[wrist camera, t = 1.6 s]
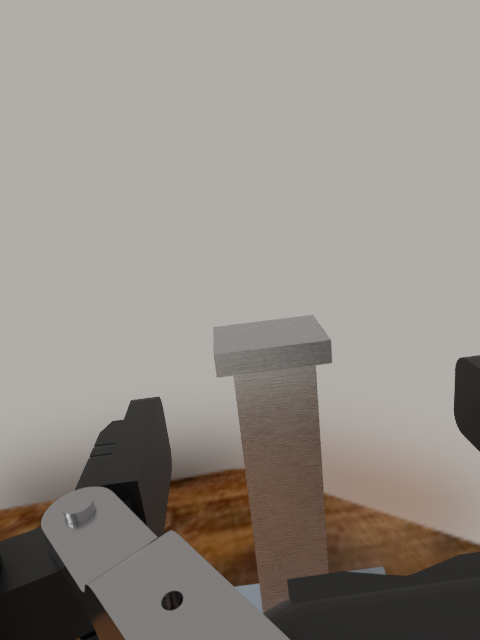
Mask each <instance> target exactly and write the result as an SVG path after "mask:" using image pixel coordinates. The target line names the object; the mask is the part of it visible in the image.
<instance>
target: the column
mask: <svg viewBox="0 0 480 640" xmlns="http://www.w3.org/2000/svg"><path fill="white" fill-rule="evenodd" d="M213 329H214V330H213V332H214V333H213V334H214V360H215V366H216V374H217V377H224V376H232V375H234V383H235V391H236V400H237V408H238V416H239V424H240V432H241V440H242V448H243V456H244V463H245V472H246V480H247V488H248V496H249V504H250V512H251V520H252V528H253V536H254V544H255V552H256V560H257V568H258V577H259V585H260V593H261V601H262V609H263V613H264V612H266V611H267V610H269V609H271V608H272V607H274V606H276V605H278V604H280V603H282V602H284V601H286V600H289V594H288V585H287V579H293V578H300V577H307V576H314V575H321V574H328V557H327V540H326V524H325V508H324V492H323V475H322V459H321V443H320V426H319V410H318V395H317V378H316V365H320V364H328V363H332V352H331V339H330V338H329V337H328V335H327V334H326V332H325V331H324V330H323V328H322V327H321V326H320V324H319V323H318V321H317V320H316V319H315V317H314V316H313V315H309V316H301V317H294V318H286V319H277V320H269V321H261V322H252V323H245V324H237V325H228V326H220V327H214V328H213Z"/></svg>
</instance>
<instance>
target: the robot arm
mask: <svg viewBox="0 0 480 640" xmlns="http://www.w3.org/2000/svg"><path fill="white" fill-rule="evenodd" d="M455 371H456V372H455V397H454V416H455V420H456V423H457V426H458V428H459V430H460V431H461V433H462V434H463V435H464V436H465V437H466V438H467V439H468V440H469V441H470V442H471V443H472V444H473V445H474V446H475V447H476V448H477V449H478V450H479V451H480V355H479V356H472V357H464V358H460V359H459V360H458V361H457V363H456V368H455ZM171 472H172V459H171V449H170V444H169V438H168V433H167V428H166V422H165V417H164V411H163V406H162V402H161V399H160V397H153V398H145V399H138V400H131V402H130V404H129V407H128V410H127V413H126V416H125V418H124V420H118V421H112V422H111V423H110V424H109V425H108V426H107V427H106V428H105V429H104V430H103V431H101V432H100V434H99V436H98V438H97V441H96V443H95V445H94V448H93V450H92V452H91V454H90V459H88V462H87V464H86V466H85V468H84V471H83V473H82V475H81V477H80V480H79V482H78V484H77V487H76V489H75V491H72V492H70V493H68V494H66V495H64V496H63V497H61V498H60V499H58V500H57V501H55V502H54V503H53V504H52V505H51V506H50V507H49V508H48V509H47V511H46V512H45V514H44V515H43V518H42V521H41V526H40V527H38V528H36V529H34V530H31V531H29V532H26V533H24V534H21V535H18V536H15V537H12V538H10V539H7V540H4V541H1V542H0V640H75V639H76V640H480V552H476V553H469V554H462V555H458V556H456V557H453V558H451V559H448V560H446V561H444V562H441V563H439V564H436V565H434V566H432V567H429V568H427V569H424V570H422V571H420V572H417V573H415V574H412V575H408V576H397V575H384V574H372V573H359V572H346V571H342V572H335V573H328V574H321V575H314V576H307V577H300V578H293V579H287V585H288V594H289V600H286V601H284V602H282V603H280V604H278V605H276V606H274V607H272V608H271V609H269V610H267V611H266V612H264V613H263V614H262V613H261V612H260V611H259V610H258V609H257V608H256V607H255V606H254V605H253V604H252V603H251V602H250V601H249V600H248V599H246V598H245V597H244V596H243V595H242V594H241V593H240V592H239V591H238V590H237V589H236V588H235V587H234V586H233V585H232V584H230V583H229V582H228V581H227V580H226V579H225V578H224V577H223V576H222V575H221V574H220V573H219V572H218V571H217V570H216V569H215V568H213V567H212V566H211V565H210V564H209V563H208V562H207V561H206V560H205V559H204V558H203V557H202V556H201V555H200V554H199V553H197V552H196V551H195V550H194V549H193V548H192V547H191V546H190V545H189V544H188V543H187V542H186V541H185V540H184V539H183V538H181V537H180V536H179V535H178V534H177V533H176V532H174V531H172V530H168V531H166V532H165V533H163V532H164V524H165V517H166V509H167V502H168V495H169V487H170V480H171Z"/></svg>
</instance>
